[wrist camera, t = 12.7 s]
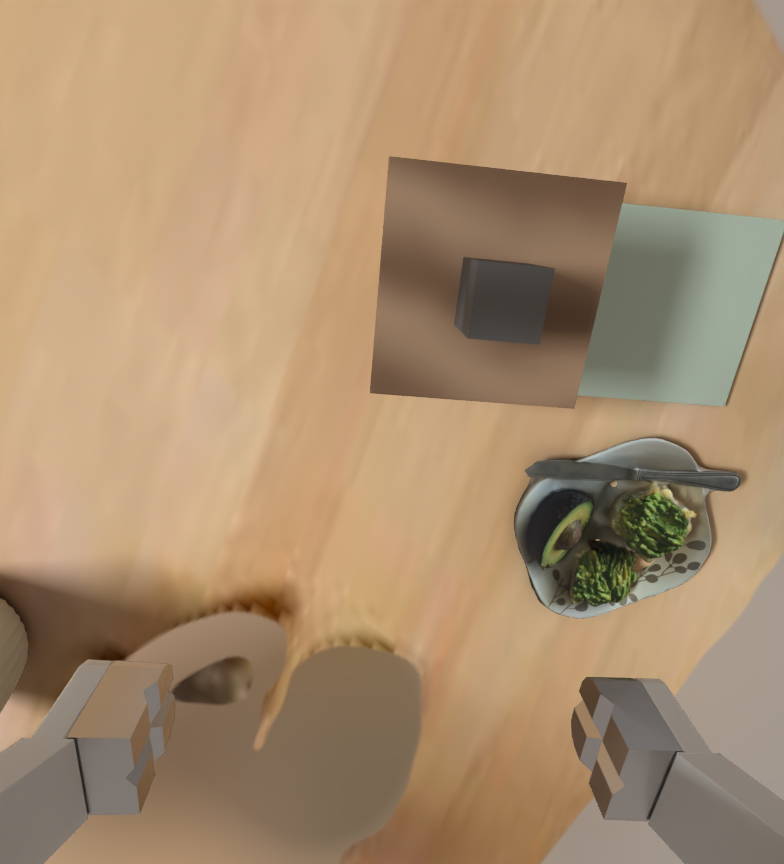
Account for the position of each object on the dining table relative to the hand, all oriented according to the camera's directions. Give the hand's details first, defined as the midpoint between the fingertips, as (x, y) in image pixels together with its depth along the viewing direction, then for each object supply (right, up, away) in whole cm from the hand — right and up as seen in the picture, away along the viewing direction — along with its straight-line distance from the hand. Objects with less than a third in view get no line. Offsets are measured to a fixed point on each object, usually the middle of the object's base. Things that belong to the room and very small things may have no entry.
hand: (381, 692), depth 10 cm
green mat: (+21, +14, +29) cm, 38 cm away
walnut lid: (+5, +13, +18) cm, 23 cm away
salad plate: (+19, -3, +36) cm, 41 cm away
